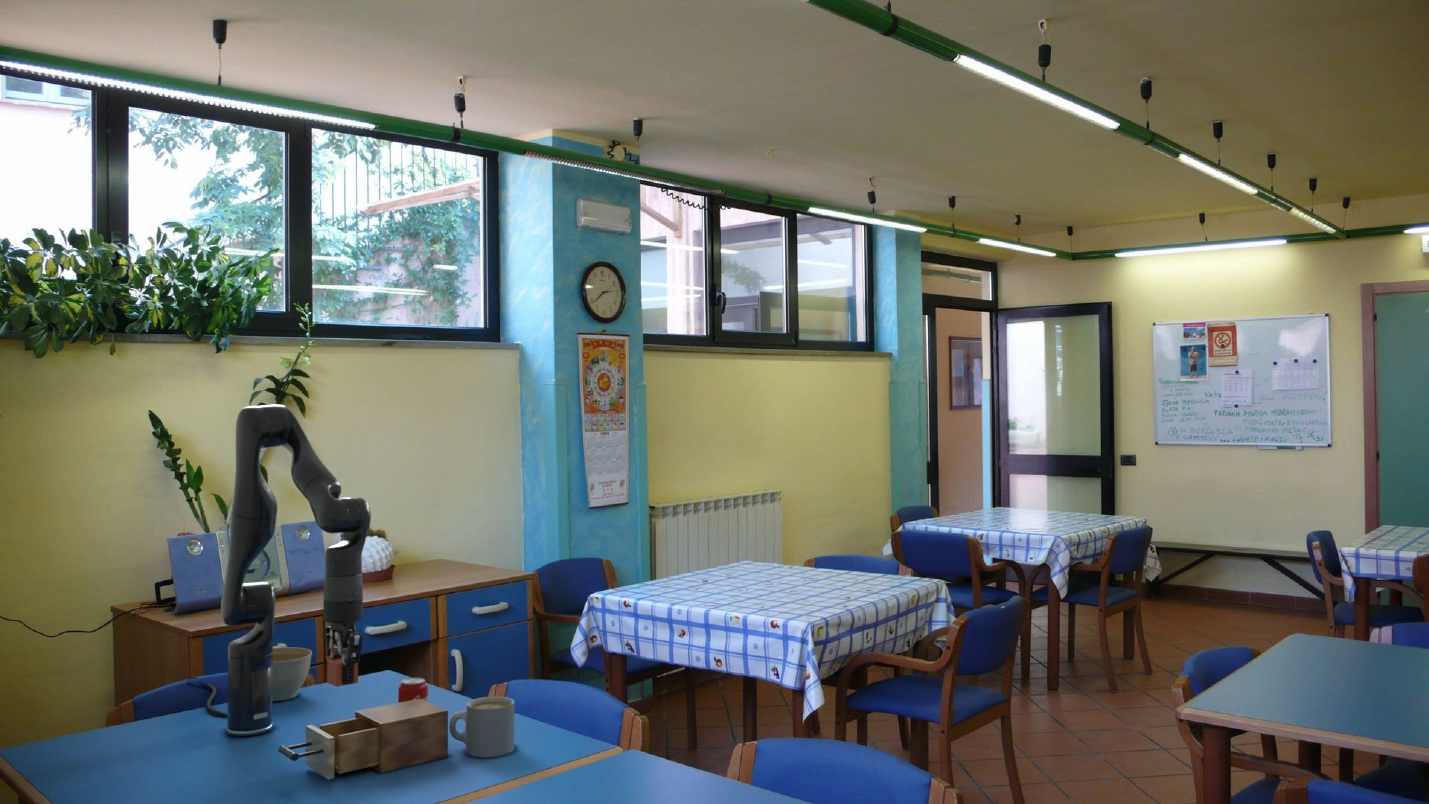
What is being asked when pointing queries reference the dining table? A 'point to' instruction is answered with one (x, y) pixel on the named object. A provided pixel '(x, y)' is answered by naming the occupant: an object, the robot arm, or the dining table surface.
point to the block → (338, 672)
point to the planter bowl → (289, 671)
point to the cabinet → (409, 733)
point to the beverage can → (413, 690)
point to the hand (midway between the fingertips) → (342, 681)
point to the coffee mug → (486, 726)
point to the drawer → (339, 747)
